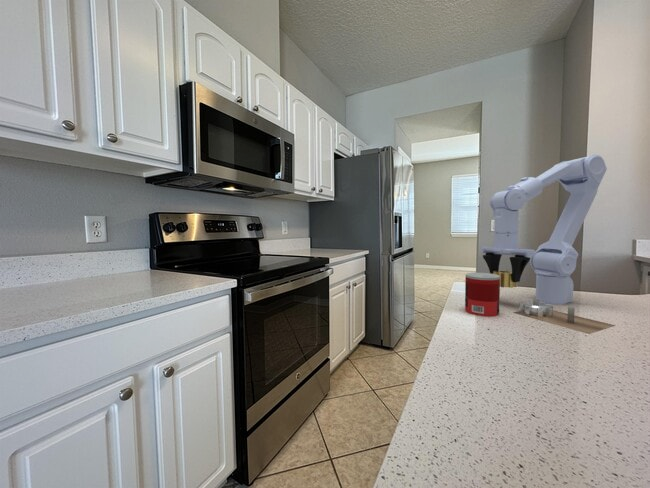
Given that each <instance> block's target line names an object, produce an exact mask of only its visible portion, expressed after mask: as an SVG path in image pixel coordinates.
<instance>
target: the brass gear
mask: <svg viewBox="0 0 650 488" xmlns="http://www.w3.org/2000/svg"><path fill="white" fill-rule="evenodd" d="M493 274H496V275H499V276H500V288H509V289H510V288H517V287H518V282H512V270H502V269H499V270H497V271H493Z"/></svg>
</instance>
